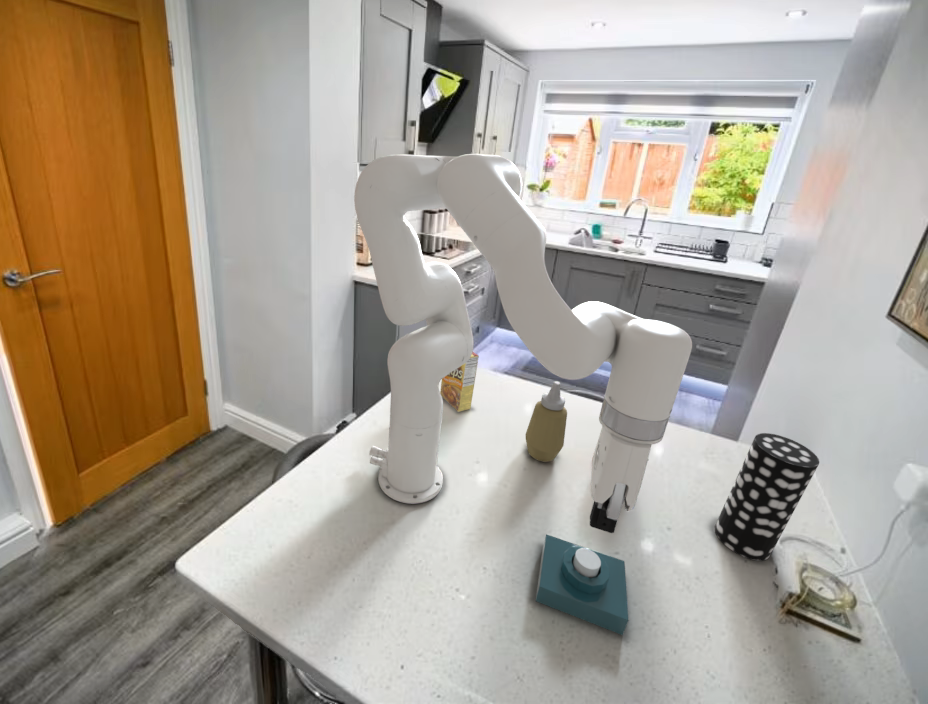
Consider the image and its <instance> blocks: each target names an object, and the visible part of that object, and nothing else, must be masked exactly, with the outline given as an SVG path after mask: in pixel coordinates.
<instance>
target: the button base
mask: <svg viewBox="0 0 928 704" xmlns="http://www.w3.org/2000/svg"><path fill="white" fill-rule="evenodd" d="M581 548H586V549H589V550H592V551H593V552H595V553H596V554H597V555H598V557H599V558H600V561H601V566H600V569H599V572H598V574H597V576H595V577H592V578H589V577H586V576H583V575H581V574H580V573H579V572H578V571H577V570H576V569H575V567H574V565H573V560H574V557H575V553H576V551H577V550H578V549H581ZM625 563H626V562H625V560H623V559H619V558H618V557H617V558H616V557H613V556H611V555H608V554H605V553H603V552H599V551H597V550H594V549H591V548H589V547H585V546H583V545H579V544H576V543H573V542H570V541H568V540H564V539H561V538H558V537H556V536H552V535H550V534H545V538H544V541H543V545H542V551H541V557H540V566H539V571H538V580H537V588H536V593H535V602H537V603H539V604H542V605H544V606H547V607H549V608H552V609H555V610H556V611H560V612H562V613H565V614H567V615H570V616H572V617H575V618H577V619H580V620H582V621H585V622H588V623H590V624H593V625H595V626H597V627H600V628H602V629H605V630H608V631H611V632H613V633H615V634H618V635H620V636H624V634H625V630H626V628H627V625H628V623H629V621H630V620H629V607H628V593H627V592H628V591H627V577H626V564H625Z"/></svg>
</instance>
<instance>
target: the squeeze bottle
mask: <svg viewBox="0 0 928 704" xmlns="http://www.w3.org/2000/svg"><path fill="white" fill-rule="evenodd" d="M565 403H566V399H565V397H564V396H563V395H561V382H560V381H553V383H552V385H551V388H550V389H549V391H548V392H544V393H543V394H542V395H541V399H540V400H539V401H537V402H536V403H535V405H534V408H533V411H532V414H531V418H530V420H529V423H528V426H527V429H526V432H525V443H526V449H527V453H528V454H529V456H530V457H532V458H533V459H534V460H536V461H538V462H544V463H548V462H552V461H554V460H555V459H556V457H557V456H558V455H559V453H560V452H561V451H562V449H563V447H564V446H565V445H564V444H565V436H566V427H567V419H568V410H567V409H566V407H565Z"/></svg>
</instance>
